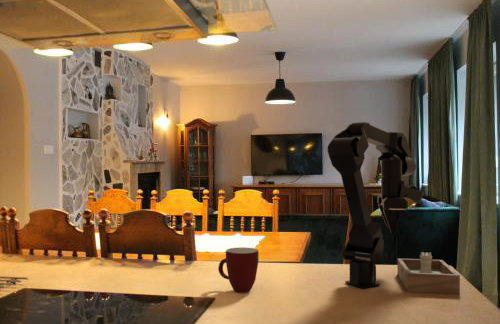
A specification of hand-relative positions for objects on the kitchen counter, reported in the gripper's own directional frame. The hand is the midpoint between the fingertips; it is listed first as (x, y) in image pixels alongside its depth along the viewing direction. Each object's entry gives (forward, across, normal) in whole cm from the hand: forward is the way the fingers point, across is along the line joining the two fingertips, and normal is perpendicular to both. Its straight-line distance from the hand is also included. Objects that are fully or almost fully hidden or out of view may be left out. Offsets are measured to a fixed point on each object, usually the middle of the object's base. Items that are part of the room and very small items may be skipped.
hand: (391, 231), depth 134 cm
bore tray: (+12, -10, -8) cm, 17 cm away
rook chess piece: (+12, -10, -8) cm, 17 cm away
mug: (+12, -25, +40) cm, 49 cm away
